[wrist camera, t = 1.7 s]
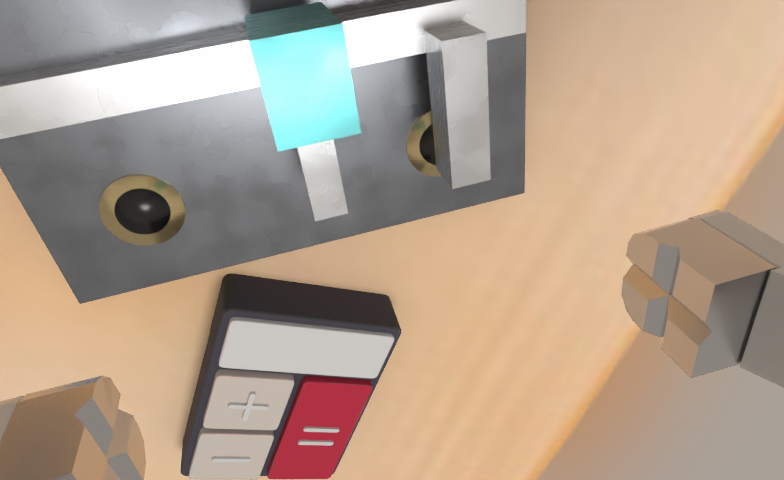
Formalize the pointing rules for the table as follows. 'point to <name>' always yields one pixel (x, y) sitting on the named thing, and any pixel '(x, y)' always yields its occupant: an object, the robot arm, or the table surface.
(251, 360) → the calculator
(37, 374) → the table surface
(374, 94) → the hole plate
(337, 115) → the slider
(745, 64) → the table surface
